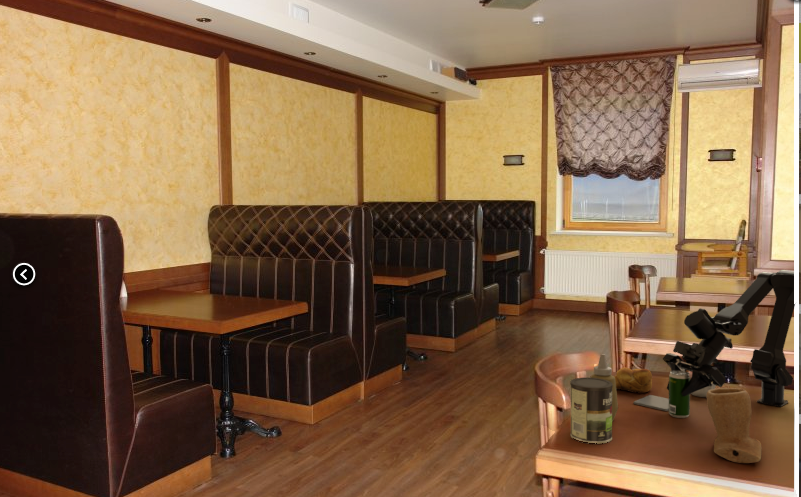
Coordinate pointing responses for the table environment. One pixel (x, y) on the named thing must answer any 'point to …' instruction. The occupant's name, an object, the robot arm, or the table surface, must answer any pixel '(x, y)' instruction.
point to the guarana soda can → (678, 394)
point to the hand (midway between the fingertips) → (675, 392)
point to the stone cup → (733, 425)
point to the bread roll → (634, 380)
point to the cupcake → (702, 391)
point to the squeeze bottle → (605, 373)
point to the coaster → (654, 402)
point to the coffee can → (591, 410)
